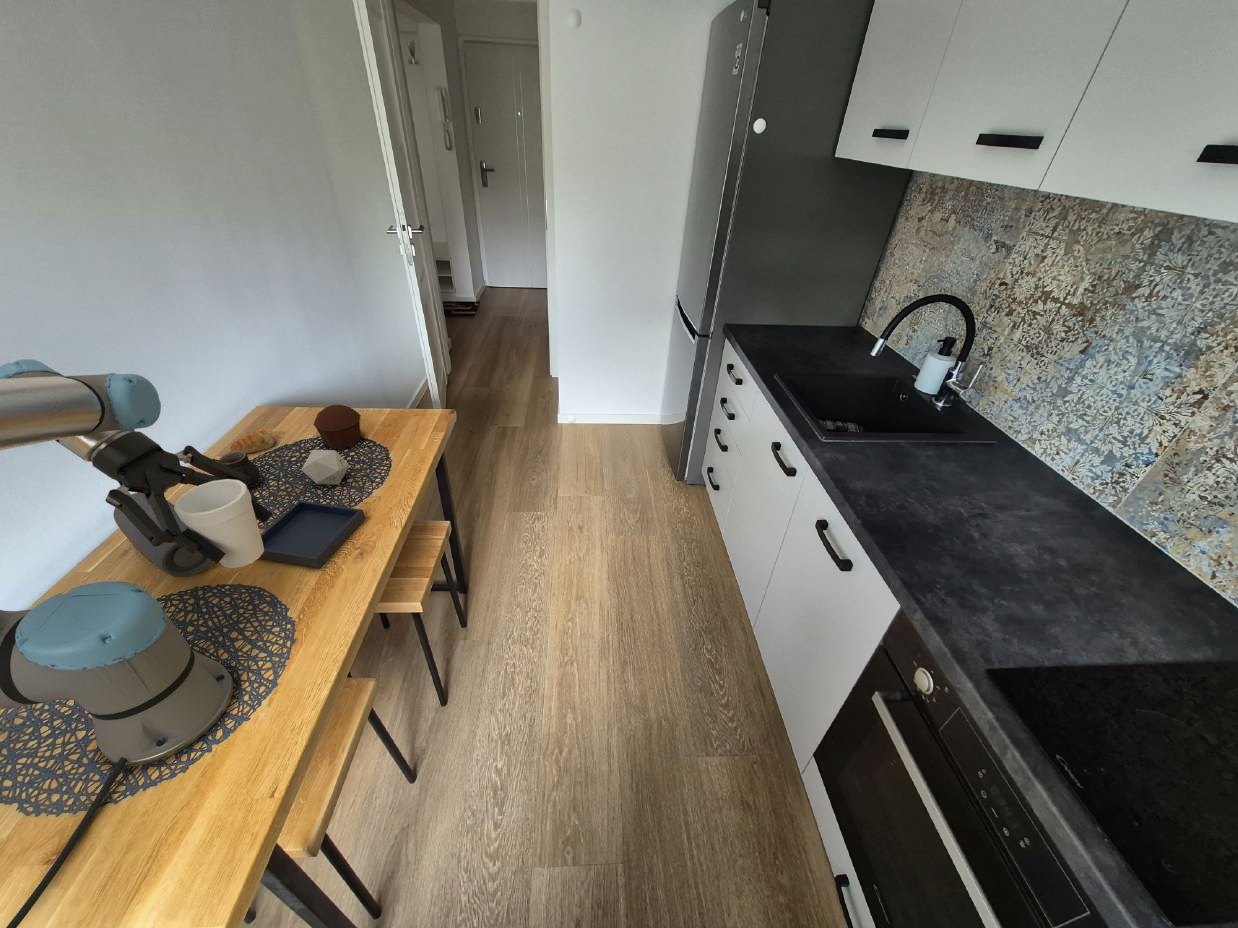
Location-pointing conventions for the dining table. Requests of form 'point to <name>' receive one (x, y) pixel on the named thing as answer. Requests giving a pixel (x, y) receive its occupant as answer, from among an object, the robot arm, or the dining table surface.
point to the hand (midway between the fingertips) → (246, 537)
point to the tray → (309, 533)
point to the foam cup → (223, 519)
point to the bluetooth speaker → (167, 554)
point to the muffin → (338, 426)
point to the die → (325, 467)
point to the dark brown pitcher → (241, 466)
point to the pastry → (253, 442)
